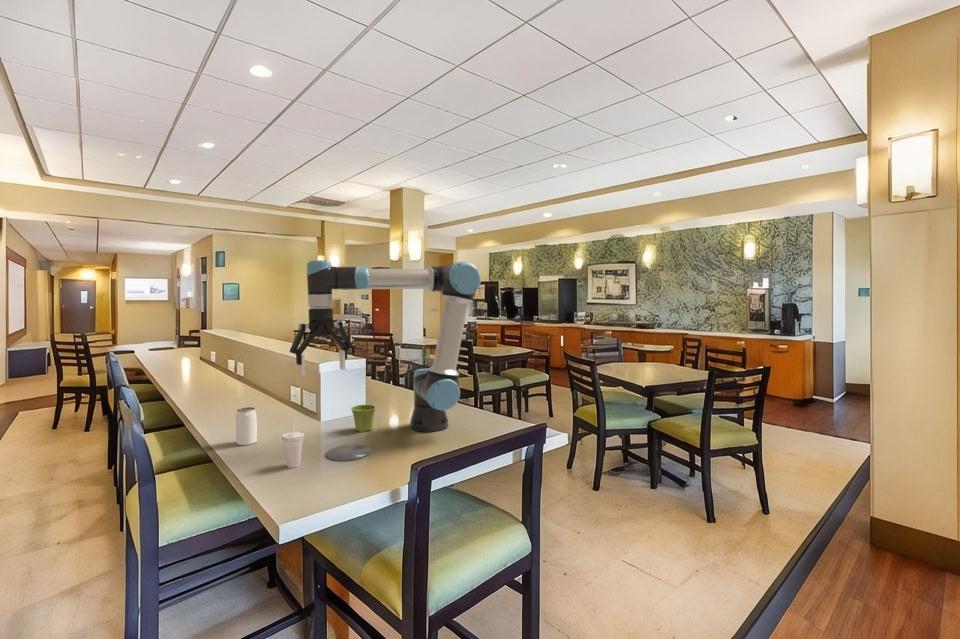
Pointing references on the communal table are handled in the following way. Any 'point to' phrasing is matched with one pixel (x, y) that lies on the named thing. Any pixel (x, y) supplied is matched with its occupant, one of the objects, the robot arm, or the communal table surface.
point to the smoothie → (293, 447)
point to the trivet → (348, 452)
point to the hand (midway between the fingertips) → (323, 372)
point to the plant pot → (363, 417)
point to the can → (246, 426)
